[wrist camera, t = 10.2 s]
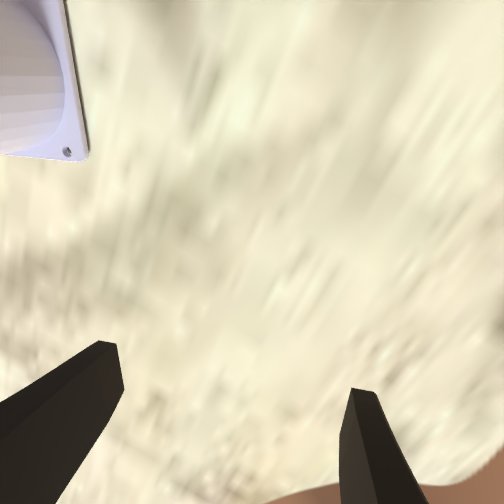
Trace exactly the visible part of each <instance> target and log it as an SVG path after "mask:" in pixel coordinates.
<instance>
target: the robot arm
mask: <svg viewBox="0 0 504 504" xmlns="http://www.w3.org/2000/svg"><path fill="white" fill-rule="evenodd" d="M67 148H69V149H70V150H71V152H72V155H70V154H69V153H68V150H67ZM0 155H9V156H19V157H29V158H39V159H50V160H60V161H70V162H83V161H85V160H86V159H87V158H88V156H89V152H88V146H87V140H86V134H85V128H84V122H83V116H82V110H81V104H80V99H79V93H78V87H77V81H76V75H75V69H74V63H73V57H72V51H71V45H70V39H69V33H68V27H67V22H66V16H65V10H64V4H63V0H0ZM123 392H124V384H123V379H122V373H121V367H120V362H119V356H118V350H117V345H116V344H115V343H110V342H105V341H97V342H95V343H94V344H92V345H90V346H89V347H87V348H86V349H84V350H83V351H81V352H79V353H78V354H76V355H75V356H73V357H72V358H70V359H69V360H67V361H66V362H64V363H63V364H61V365H60V366H58V367H57V368H55V369H53V370H52V371H50V372H49V373H47V374H46V375H44V376H43V377H41V378H39V379H38V380H36V381H35V382H33V383H32V384H30V385H28V386H27V387H25V388H24V389H22V390H20V391H19V392H17V393H15V394H13V395H12V396H10V397H8V398H7V399H5V400H3V401H2V402H0V504H56V502H57V501H58V499H59V497H60V496H61V494H62V493H63V491H64V490H65V488H66V486H67V485H68V483H69V482H70V480H71V479H72V477H73V476H74V474H75V473H76V471H77V470H78V468H79V467H80V465H81V464H82V462H83V461H84V459H85V458H86V456H87V454H88V453H89V451H90V450H91V448H92V447H93V445H94V444H95V442H96V441H97V439H98V438H99V436H100V434H101V433H102V431H103V430H104V428H105V427H106V425H107V423H108V422H109V420H110V418H111V416H112V414H113V412H114V410H115V408H116V406H117V404H118V402H119V400H120V398H121V396H122V394H123ZM339 482H340V494H341V504H429V503H428V501H427V500H426V498H425V496H424V494H423V492H422V490H421V488H420V487H419V485H418V483H417V481H416V479H415V477H414V475H413V473H412V471H411V469H410V467H409V465H408V463H407V461H406V459H405V457H404V456H403V453H402V451H401V449H400V447H399V445H398V443H397V441H396V439H395V437H394V435H393V432H392V430H391V428H390V426H389V424H388V421H387V419H386V417H385V414H384V412H383V409H382V407H381V405H380V402H379V400H378V397H377V395H376V394H375V393H374V392H372V391H366V390H361V389H356V388H351V392H350V395H349V399H348V403H347V407H346V411H345V415H344V419H343V423H342V427H341V431H340V437H339Z"/></svg>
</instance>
